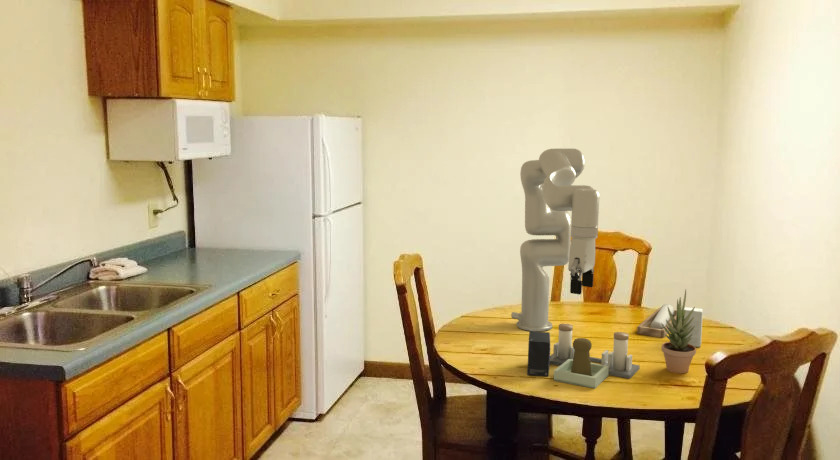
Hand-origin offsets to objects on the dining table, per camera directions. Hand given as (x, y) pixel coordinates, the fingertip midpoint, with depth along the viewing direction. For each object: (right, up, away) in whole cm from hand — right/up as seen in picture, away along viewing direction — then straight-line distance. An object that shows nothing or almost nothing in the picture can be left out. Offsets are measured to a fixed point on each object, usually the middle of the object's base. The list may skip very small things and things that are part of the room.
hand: (581, 290), depth 212 cm
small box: (-12, -24, +4) cm, 27 cm away
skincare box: (+42, -21, +29) cm, 55 cm away
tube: (+40, -17, +52) cm, 68 cm away
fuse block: (+5, -23, +8) cm, 25 cm away
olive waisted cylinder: (-1, -25, -3) cm, 25 cm away
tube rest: (+40, -17, +51) cm, 67 cm away
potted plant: (+30, -24, +4) cm, 38 cm away
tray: (-1, -25, -3) cm, 25 cm away
